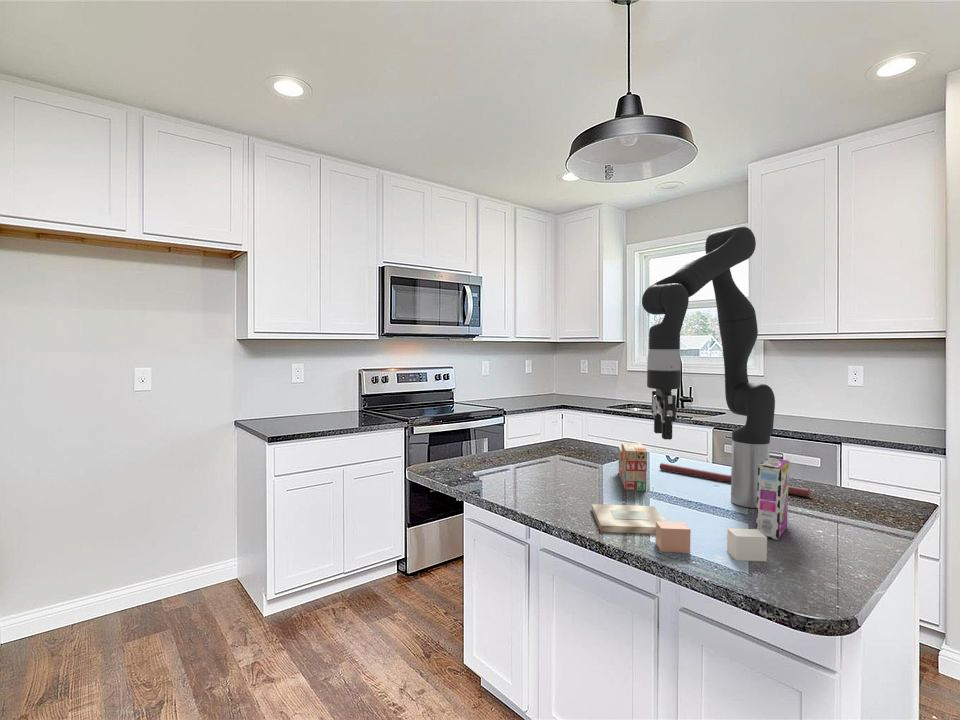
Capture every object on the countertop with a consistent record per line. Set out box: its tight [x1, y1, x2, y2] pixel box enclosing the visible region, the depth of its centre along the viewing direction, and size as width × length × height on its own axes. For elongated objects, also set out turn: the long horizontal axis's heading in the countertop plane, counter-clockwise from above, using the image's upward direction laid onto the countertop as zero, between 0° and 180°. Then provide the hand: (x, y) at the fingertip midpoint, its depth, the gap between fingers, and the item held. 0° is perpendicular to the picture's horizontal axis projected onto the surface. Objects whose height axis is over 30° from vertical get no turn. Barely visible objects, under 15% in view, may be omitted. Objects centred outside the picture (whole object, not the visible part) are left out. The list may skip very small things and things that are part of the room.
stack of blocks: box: [617, 442, 648, 492], centre depth 164 cm, size 21×6×12 cm, turn 170°
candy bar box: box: [755, 457, 790, 541], centre depth 120 cm, size 11×5×16 cm, turn 141°
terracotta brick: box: [655, 520, 692, 554], centre depth 110 cm, size 6×4×5 cm
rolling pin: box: [659, 462, 811, 498], centre depth 164 cm, size 45×3×3 cm, turn 44°
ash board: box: [591, 503, 668, 535], centre depth 127 cm, size 16×16×2 cm
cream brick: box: [726, 527, 768, 562], centre depth 106 cm, size 6×4×5 cm
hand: (662, 436), depth 123 cm, fingers open, 8 cm apart
